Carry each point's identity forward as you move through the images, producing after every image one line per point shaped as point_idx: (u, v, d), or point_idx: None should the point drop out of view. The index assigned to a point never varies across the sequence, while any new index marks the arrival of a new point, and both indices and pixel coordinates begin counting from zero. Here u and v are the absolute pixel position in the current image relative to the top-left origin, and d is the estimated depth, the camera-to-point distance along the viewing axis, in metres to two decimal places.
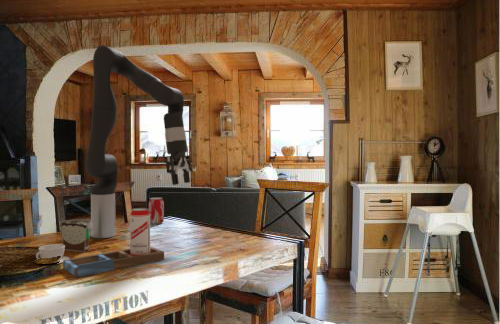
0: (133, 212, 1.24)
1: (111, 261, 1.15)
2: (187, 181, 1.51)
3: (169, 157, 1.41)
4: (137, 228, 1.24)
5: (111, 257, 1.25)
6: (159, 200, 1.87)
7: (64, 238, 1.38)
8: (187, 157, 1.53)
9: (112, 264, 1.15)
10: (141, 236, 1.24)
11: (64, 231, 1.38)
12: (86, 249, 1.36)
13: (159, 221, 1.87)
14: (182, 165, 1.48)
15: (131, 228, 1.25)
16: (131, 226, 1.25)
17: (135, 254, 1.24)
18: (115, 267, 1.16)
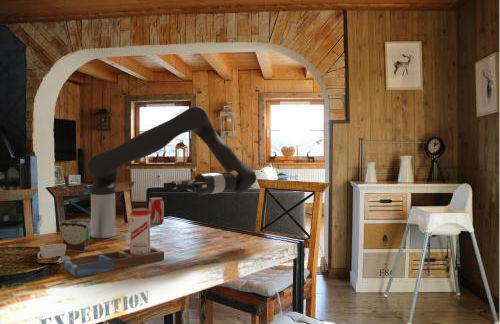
0: (133, 212, 1.24)
1: (111, 261, 1.15)
2: (165, 187, 1.37)
3: (206, 187, 1.35)
4: (137, 228, 1.24)
5: (111, 257, 1.25)
6: (159, 200, 1.87)
7: (64, 238, 1.38)
8: None
9: (112, 264, 1.15)
10: (141, 236, 1.24)
11: (64, 231, 1.38)
12: (86, 249, 1.36)
13: (159, 221, 1.87)
14: None
15: (131, 228, 1.25)
16: (131, 226, 1.25)
17: (135, 254, 1.24)
18: (115, 267, 1.16)
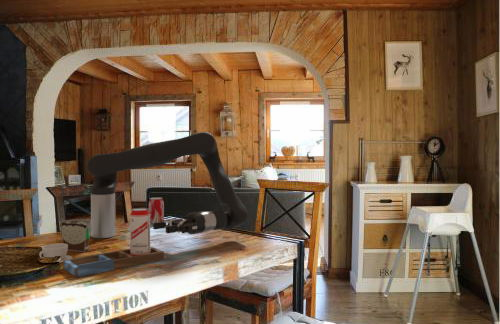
0: (133, 212, 1.24)
1: (111, 261, 1.15)
2: (154, 227, 1.35)
3: (196, 228, 1.33)
4: (137, 228, 1.24)
5: (111, 257, 1.25)
6: (159, 200, 1.87)
7: (64, 238, 1.38)
8: None
9: (112, 264, 1.15)
10: (141, 236, 1.24)
11: (64, 231, 1.38)
12: (86, 249, 1.36)
13: (159, 221, 1.87)
14: None
15: (131, 228, 1.25)
16: (131, 226, 1.25)
17: (135, 254, 1.24)
18: (115, 267, 1.16)
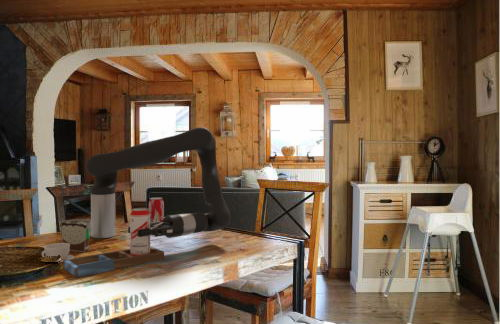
0: (133, 212, 1.24)
1: (111, 261, 1.15)
2: (129, 231, 1.28)
3: (171, 232, 1.27)
4: (137, 228, 1.24)
5: (111, 257, 1.25)
6: (159, 200, 1.87)
7: (64, 238, 1.38)
8: None
9: (112, 264, 1.15)
10: None
11: (64, 231, 1.38)
12: (86, 249, 1.36)
13: None
14: None
15: (131, 228, 1.25)
16: (131, 226, 1.25)
17: (135, 254, 1.24)
18: (115, 267, 1.16)
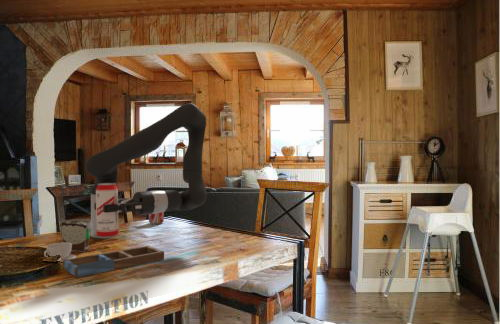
0: (99, 187, 1.17)
1: (111, 261, 1.15)
2: None
3: (140, 208, 1.19)
4: (103, 204, 1.16)
5: (111, 257, 1.25)
6: None
7: (64, 238, 1.38)
8: None
9: (112, 264, 1.15)
10: (108, 212, 1.17)
11: (64, 231, 1.38)
12: (86, 249, 1.36)
13: (159, 221, 1.87)
14: None
15: (97, 204, 1.17)
16: (97, 201, 1.17)
17: (101, 231, 1.17)
18: (115, 267, 1.16)
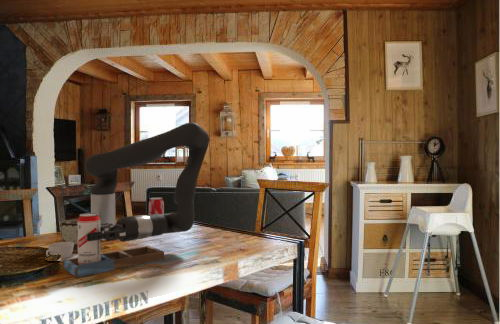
0: (80, 218, 1.14)
1: (111, 261, 1.15)
2: None
3: (124, 235, 1.16)
4: (85, 235, 1.13)
5: (111, 257, 1.25)
6: (159, 200, 1.87)
7: (64, 238, 1.38)
8: None
9: (112, 264, 1.15)
10: (89, 244, 1.13)
11: (64, 231, 1.38)
12: None
13: None
14: None
15: (78, 235, 1.14)
16: (78, 233, 1.14)
17: None
18: (115, 267, 1.16)
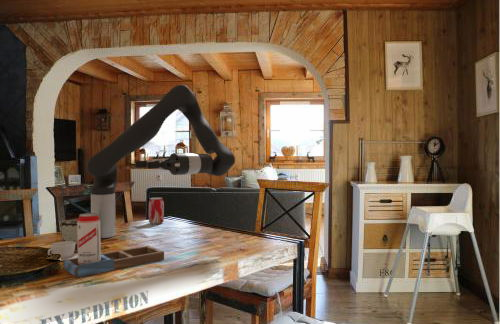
0: (80, 218, 1.14)
1: (111, 261, 1.15)
2: (136, 166, 1.30)
3: (179, 166, 1.29)
4: (84, 236, 1.13)
5: (111, 257, 1.25)
6: (159, 200, 1.87)
7: (64, 238, 1.38)
8: None
9: (112, 264, 1.15)
10: (89, 244, 1.13)
11: (64, 231, 1.38)
12: None
13: (159, 221, 1.87)
14: (159, 167, 1.32)
15: (78, 235, 1.14)
16: (78, 233, 1.14)
17: None
18: (115, 267, 1.16)
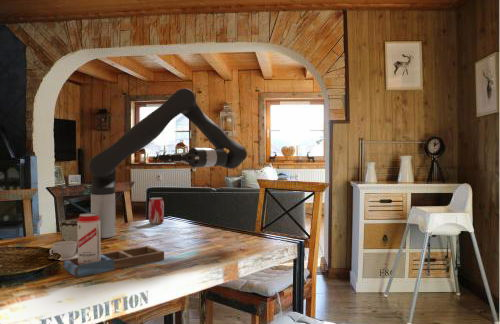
0: (80, 218, 1.14)
1: (111, 261, 1.15)
2: (160, 159, 1.45)
3: (198, 159, 1.44)
4: (85, 236, 1.13)
5: (111, 257, 1.25)
6: (159, 200, 1.87)
7: (64, 238, 1.38)
8: None
9: (112, 264, 1.15)
10: (89, 244, 1.13)
11: (64, 231, 1.38)
12: None
13: (159, 221, 1.87)
14: (180, 160, 1.47)
15: (78, 235, 1.14)
16: (78, 233, 1.14)
17: None
18: (115, 267, 1.16)
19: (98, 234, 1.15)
